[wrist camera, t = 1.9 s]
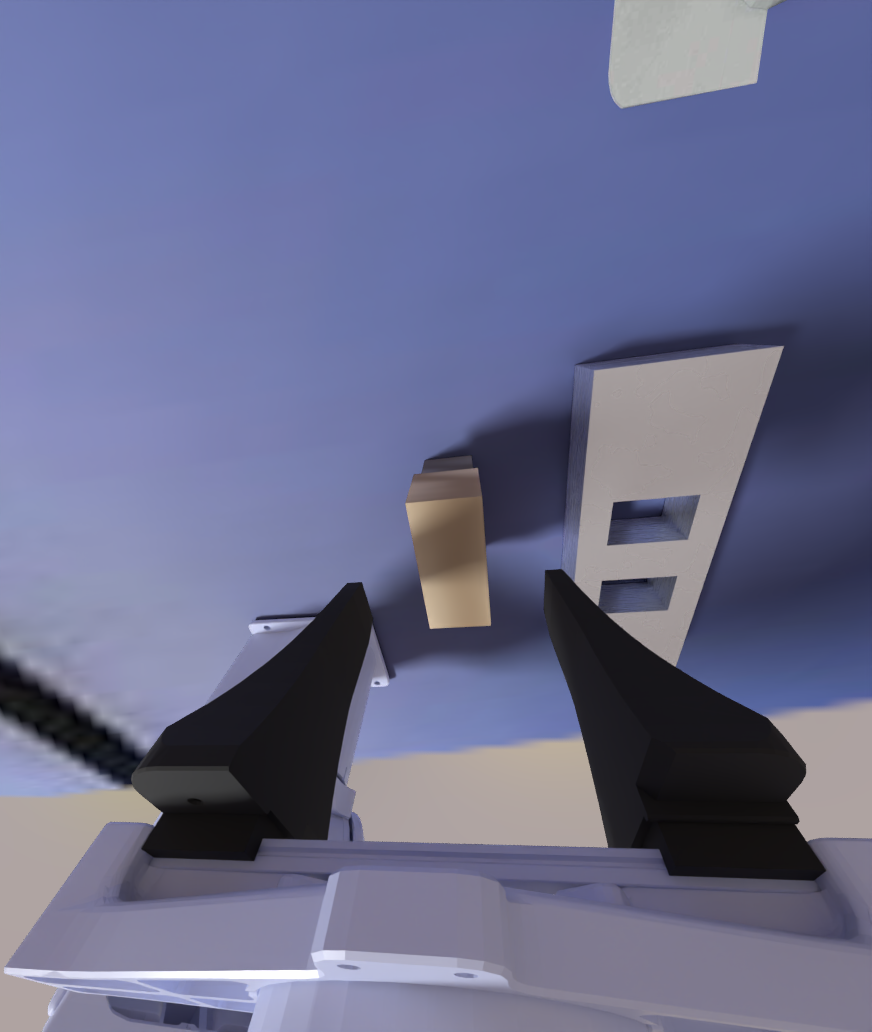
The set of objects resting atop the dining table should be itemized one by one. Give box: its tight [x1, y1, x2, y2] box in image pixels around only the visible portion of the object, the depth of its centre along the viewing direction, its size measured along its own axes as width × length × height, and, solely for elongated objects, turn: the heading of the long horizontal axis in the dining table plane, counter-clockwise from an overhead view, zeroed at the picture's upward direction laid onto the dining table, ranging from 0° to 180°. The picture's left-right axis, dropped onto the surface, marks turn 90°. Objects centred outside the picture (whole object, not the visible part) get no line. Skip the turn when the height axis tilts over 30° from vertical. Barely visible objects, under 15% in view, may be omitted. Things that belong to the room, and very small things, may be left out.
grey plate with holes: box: [561, 344, 784, 680], centre depth 19 cm, size 7×20×2 cm, turn 7°
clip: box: [405, 455, 491, 629], centre depth 17 cm, size 3×7×6 cm, turn 7°
